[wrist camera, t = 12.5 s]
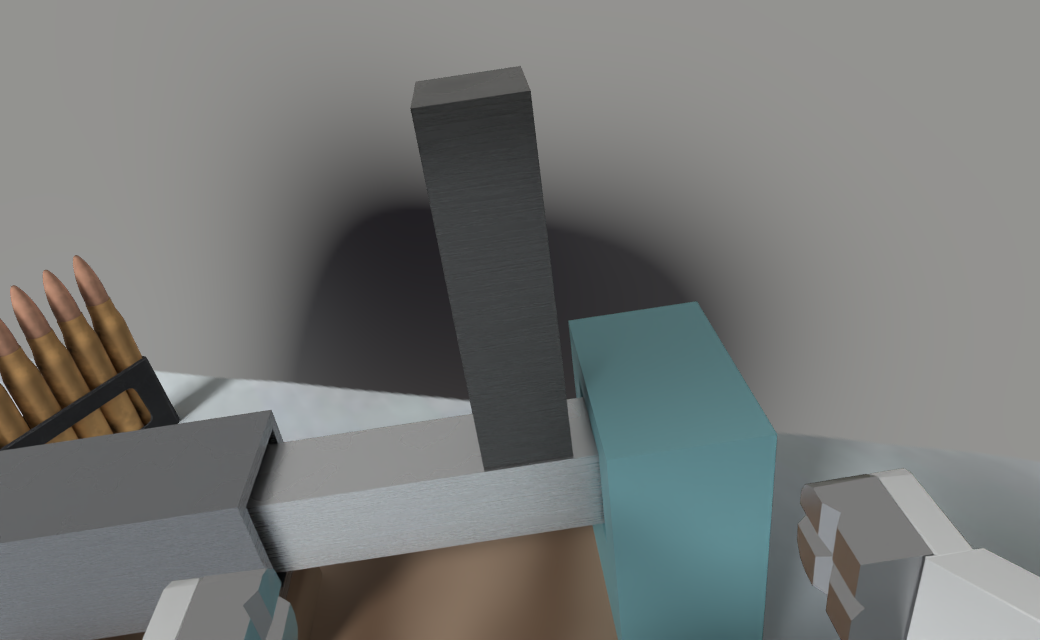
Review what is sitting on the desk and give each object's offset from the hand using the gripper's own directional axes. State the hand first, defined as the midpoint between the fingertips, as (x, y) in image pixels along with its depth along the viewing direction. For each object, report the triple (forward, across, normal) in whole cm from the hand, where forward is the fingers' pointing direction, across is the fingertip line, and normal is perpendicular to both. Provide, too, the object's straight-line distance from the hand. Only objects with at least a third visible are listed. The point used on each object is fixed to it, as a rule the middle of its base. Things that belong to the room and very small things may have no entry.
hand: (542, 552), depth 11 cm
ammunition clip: (+26, +26, +17) cm, 40 cm away
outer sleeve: (+12, +16, +12) cm, 23 cm away
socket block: (+12, -5, +16) cm, 20 cm away
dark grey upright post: (+12, +4, +11) cm, 16 cm away
